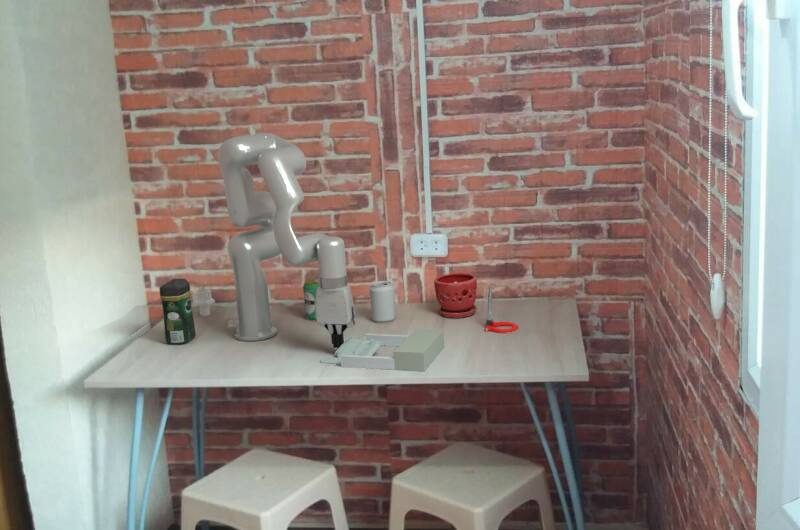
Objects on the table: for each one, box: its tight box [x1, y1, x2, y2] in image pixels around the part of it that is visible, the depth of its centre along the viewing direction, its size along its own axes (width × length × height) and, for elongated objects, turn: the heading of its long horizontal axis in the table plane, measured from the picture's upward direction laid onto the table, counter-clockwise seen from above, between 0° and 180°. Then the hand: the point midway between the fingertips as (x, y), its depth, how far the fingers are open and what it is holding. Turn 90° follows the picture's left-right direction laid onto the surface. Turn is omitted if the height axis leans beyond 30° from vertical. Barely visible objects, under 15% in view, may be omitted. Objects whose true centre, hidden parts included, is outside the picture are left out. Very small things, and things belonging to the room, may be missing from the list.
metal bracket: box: [320, 335, 382, 370], centre depth 247 cm, size 14×6×15 cm
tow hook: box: [484, 285, 519, 334], centre depth 264 cm, size 8×13×9 cm
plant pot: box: [433, 272, 478, 319], centre depth 282 cm, size 13×13×12 cm
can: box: [369, 280, 397, 324], centre depth 280 cm, size 8×8×12 cm
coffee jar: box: [159, 278, 197, 346], centre depth 270 cm, size 10×8×19 cm
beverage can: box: [302, 278, 320, 321], centre depth 287 cm, size 8×8×12 cm
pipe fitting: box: [192, 288, 216, 317], centre depth 299 cm, size 6×7×8 cm
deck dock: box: [340, 328, 445, 372], centre depth 246 cm, size 23×20×5 cm
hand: (338, 346), depth 251 cm, fingers closed
